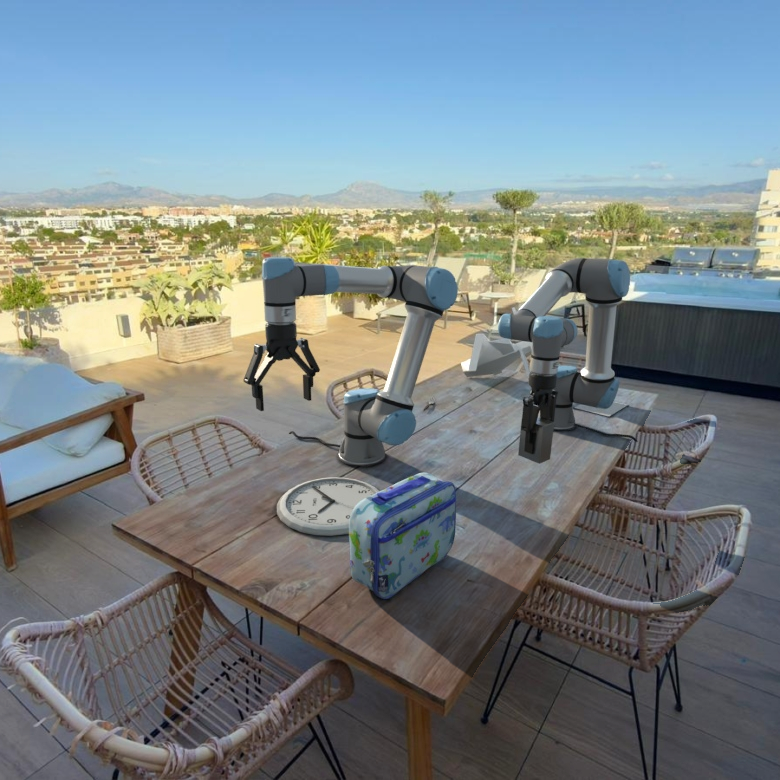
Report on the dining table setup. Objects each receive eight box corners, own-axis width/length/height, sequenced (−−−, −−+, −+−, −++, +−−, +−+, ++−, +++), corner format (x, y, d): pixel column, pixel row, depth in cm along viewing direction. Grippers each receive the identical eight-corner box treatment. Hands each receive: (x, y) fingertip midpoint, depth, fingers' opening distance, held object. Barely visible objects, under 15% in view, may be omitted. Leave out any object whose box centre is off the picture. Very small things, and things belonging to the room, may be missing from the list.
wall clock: (392, 527, 129) (268, 531, 127) (391, 533, 130) (269, 537, 127) (383, 473, 158) (282, 475, 155) (383, 478, 158) (282, 480, 156)
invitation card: (608, 416, 214) (573, 407, 224) (608, 416, 214) (573, 408, 224) (628, 404, 229) (594, 396, 238) (628, 405, 229) (594, 397, 238)
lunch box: (377, 612, 103) (378, 518, 97) (342, 586, 111) (341, 497, 104) (459, 557, 121) (465, 475, 115) (425, 538, 128) (428, 460, 122)
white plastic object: (482, 418, 266) (461, 395, 241) (463, 346, 288) (443, 318, 264) (553, 394, 254) (538, 368, 229) (528, 321, 276) (512, 289, 251)
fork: (420, 411, 216) (420, 406, 216) (430, 400, 230) (431, 395, 230) (426, 412, 215) (426, 407, 215) (436, 401, 230) (436, 396, 229)
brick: (518, 455, 154) (521, 418, 151) (528, 450, 157) (532, 414, 154) (539, 463, 149) (543, 426, 145) (550, 459, 152) (554, 422, 148)
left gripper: (238, 330, 118) (245, 418, 124) (331, 319, 133) (333, 398, 139) (225, 325, 123) (232, 410, 129) (316, 315, 138) (318, 392, 145)
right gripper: (534, 381, 137) (526, 462, 144) (573, 370, 148) (564, 446, 155) (511, 375, 142) (504, 453, 149) (550, 365, 153) (542, 438, 160)
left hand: (284, 404), depth 134 cm, fingers open, 13 cm apart
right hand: (535, 449), depth 152 cm, fingers closed on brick, 5 cm apart
